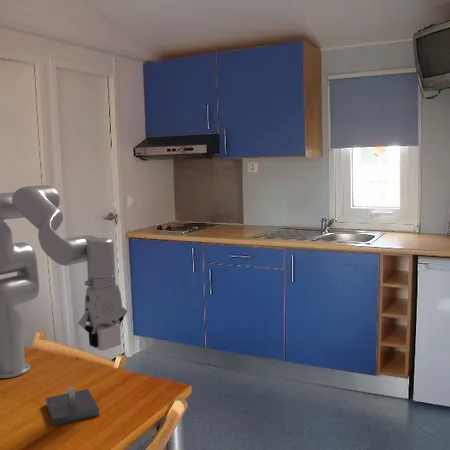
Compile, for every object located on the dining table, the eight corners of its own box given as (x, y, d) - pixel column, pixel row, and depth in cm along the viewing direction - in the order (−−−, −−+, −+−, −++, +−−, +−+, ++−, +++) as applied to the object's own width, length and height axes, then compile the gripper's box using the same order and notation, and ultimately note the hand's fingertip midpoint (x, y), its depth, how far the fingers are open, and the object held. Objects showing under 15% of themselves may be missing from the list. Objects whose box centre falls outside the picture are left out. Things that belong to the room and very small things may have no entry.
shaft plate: (46, 404, 150) (44, 384, 149) (88, 395, 155) (87, 376, 154) (53, 426, 137) (52, 404, 137) (99, 415, 143) (98, 394, 142)
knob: (89, 345, 150) (88, 324, 149) (108, 339, 155) (107, 319, 154) (101, 350, 146) (100, 329, 145) (120, 344, 150) (119, 323, 150)
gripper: (82, 289, 139) (85, 354, 141) (134, 278, 152) (136, 337, 154) (67, 285, 144) (70, 348, 146) (119, 274, 157) (121, 332, 159)
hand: (104, 342), depth 150 cm, fingers closed on knob, 6 cm apart
